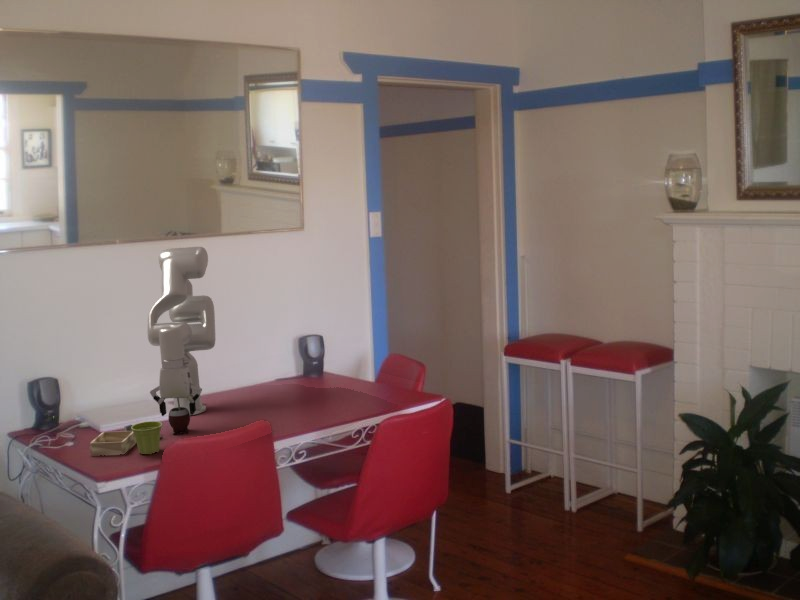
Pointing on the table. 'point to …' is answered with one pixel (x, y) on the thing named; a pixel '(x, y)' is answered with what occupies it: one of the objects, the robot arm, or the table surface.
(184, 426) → the mate gourd
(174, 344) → the robot arm
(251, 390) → the table surface
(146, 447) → the plant pot
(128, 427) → the clip
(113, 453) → the holder
